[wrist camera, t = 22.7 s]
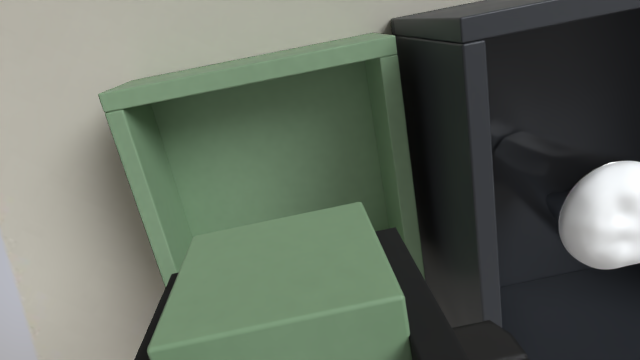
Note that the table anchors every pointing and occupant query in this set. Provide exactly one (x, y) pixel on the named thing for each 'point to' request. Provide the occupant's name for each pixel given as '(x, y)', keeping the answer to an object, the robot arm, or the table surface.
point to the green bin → (267, 143)
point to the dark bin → (477, 166)
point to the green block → (286, 294)
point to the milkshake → (575, 196)
